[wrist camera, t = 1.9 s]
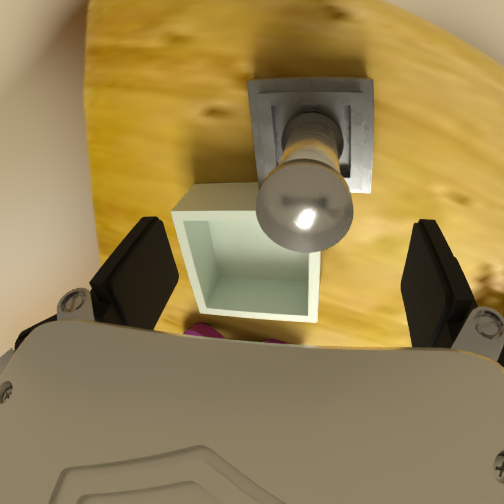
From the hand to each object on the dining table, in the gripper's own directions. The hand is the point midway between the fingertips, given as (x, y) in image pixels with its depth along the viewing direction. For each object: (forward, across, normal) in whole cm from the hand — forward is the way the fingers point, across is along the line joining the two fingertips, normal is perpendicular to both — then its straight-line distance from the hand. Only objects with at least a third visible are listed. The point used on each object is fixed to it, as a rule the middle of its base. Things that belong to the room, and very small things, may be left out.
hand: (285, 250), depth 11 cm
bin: (+19, +5, +12) cm, 23 cm away
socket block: (+19, -1, 0) cm, 19 cm away
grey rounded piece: (+16, -1, 0) cm, 16 cm away
